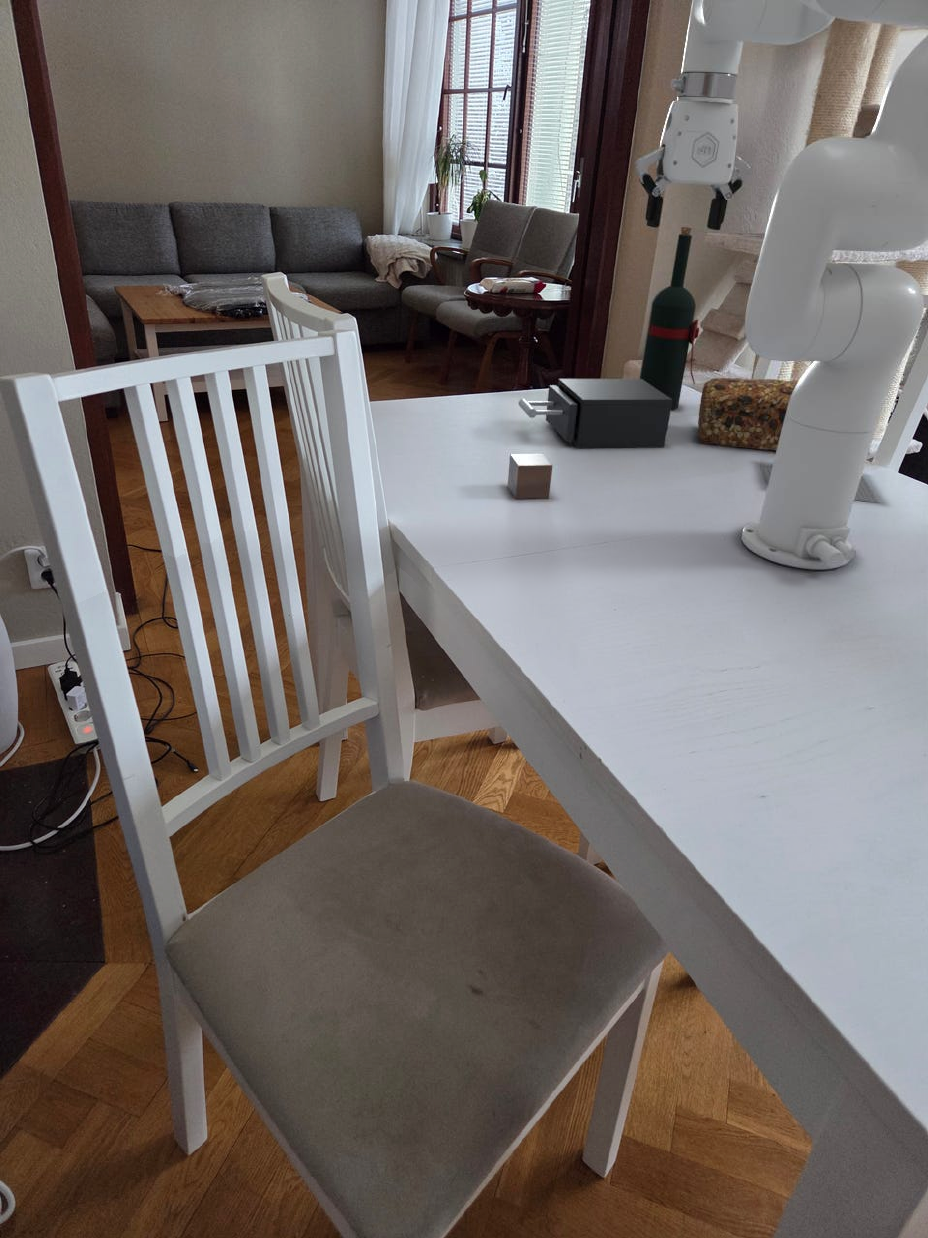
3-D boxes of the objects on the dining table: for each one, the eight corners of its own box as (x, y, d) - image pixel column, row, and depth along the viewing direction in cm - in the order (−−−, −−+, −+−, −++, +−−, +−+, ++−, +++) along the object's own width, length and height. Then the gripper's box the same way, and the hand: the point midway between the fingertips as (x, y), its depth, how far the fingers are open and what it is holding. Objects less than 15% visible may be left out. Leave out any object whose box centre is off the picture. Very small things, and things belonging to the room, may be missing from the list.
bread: (807, 438, 139) (823, 378, 134) (816, 458, 130) (833, 394, 125) (694, 425, 142) (706, 366, 137) (695, 444, 133) (708, 381, 128)
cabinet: (576, 448, 128) (582, 399, 124) (553, 424, 139) (558, 378, 135) (664, 447, 131) (672, 399, 127) (634, 423, 142) (642, 378, 138)
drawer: (530, 442, 127) (534, 404, 124) (512, 420, 136) (515, 384, 134) (647, 440, 131) (653, 404, 128) (621, 419, 140) (626, 385, 137)
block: (549, 498, 109) (552, 465, 107) (515, 499, 108) (518, 465, 106) (539, 485, 113) (543, 453, 111) (507, 486, 112) (509, 453, 110)
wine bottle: (688, 414, 148) (723, 231, 133) (632, 407, 151) (660, 226, 136) (692, 404, 155) (726, 228, 140) (638, 397, 157) (665, 223, 142)
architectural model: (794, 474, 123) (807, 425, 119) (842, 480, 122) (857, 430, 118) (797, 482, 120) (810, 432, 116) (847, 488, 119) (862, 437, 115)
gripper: (658, 85, 108) (637, 228, 117) (777, 94, 112) (748, 232, 120) (637, 87, 115) (619, 223, 123) (750, 96, 118) (725, 227, 127)
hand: (683, 227), depth 122 cm, fingers open, 9 cm apart
